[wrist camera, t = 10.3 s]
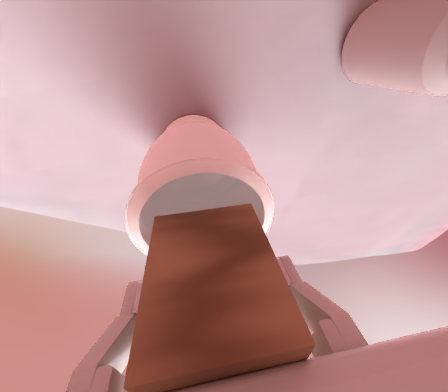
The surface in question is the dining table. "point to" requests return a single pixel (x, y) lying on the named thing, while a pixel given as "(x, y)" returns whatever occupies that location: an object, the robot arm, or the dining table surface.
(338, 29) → the dining table surface
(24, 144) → the dining table surface
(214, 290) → the walnut block
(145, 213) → the jar
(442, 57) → the can
